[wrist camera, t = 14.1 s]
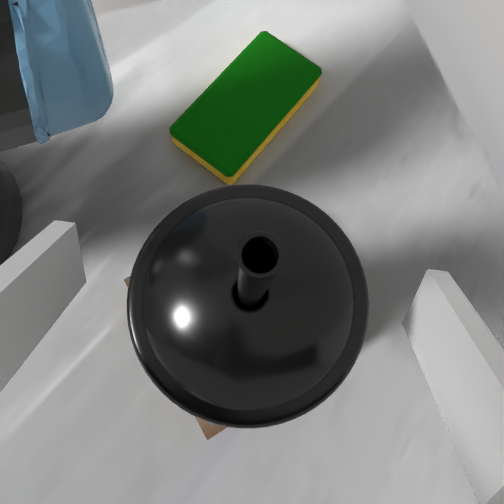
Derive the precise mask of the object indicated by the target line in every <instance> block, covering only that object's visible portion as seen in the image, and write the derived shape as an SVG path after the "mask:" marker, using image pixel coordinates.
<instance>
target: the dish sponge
mask: <svg viewBox="0 0 504 504" xmlns="http://www.w3.org/2000/svg"><path fill="white" fill-rule="evenodd" d="M321 74H322V71H321V68H320V67H318V66H317V65H316V64H314V63H313V62H311V61H310V60H308V59H307V58H305V57H304V56H302V55H301V54H299V53H298V52H296V51H295V50H293V49H292V48H290V47H289V46H287V45H286V44H285V43H283V42H282V41H280V40H279V39H277V38H276V37H274V36H273V35H271V34H270V33H268V32H267V31H263V32H260V34H259V35H258V36H257V37H256V38H255V39H254V40H253V41H252V42H251V43H250V44H249V45H248V46H247V47H246V48H245V49H244V50H243V51H242V52H241V53H240V54H239V56H238V57H237V58H236V59H235V60H234V61H233V62H232V63H231V64H230V65H229V66H228V67H227V68H226V69H225V70H224V71H223V72H222V73H221V74H220V75H219V76H218V78H217V79H216V80H215V81H214V82H213V83H212V84H211V85H210V86H209V87H208V88H207V89H206V90H205V91H204V92H203V93H202V94H201V95H200V96H199V97H198V98H197V100H196V101H195V102H194V103H193V104H192V105H191V106H190V107H189V108H188V109H187V110H186V111H185V112H184V113H183V114H182V115H181V116H180V117H179V118H178V119H177V120H176V122H175V123H174V124H173V125H172V126H171V127H170V134H171V137H172V140H173V143H174V144H175V145H176V146H177V147H179V148H180V149H181V150H183V151H184V152H185V153H187V154H188V155H189V156H191V157H192V158H193V159H195V160H196V161H197V162H199V163H200V164H201V165H203V166H204V167H205V168H207V169H208V170H209V171H211V172H212V173H213V174H215V175H216V176H217V177H218V178H220V179H221V180H222V181H224V182H225V183H226V184H228V185H229V184H234V183H235V181H236V180H237V179H238V178H239V177H240V176H241V174H242V173H243V172H244V171H245V170H246V169H247V168H248V166H249V165H250V164H251V163H252V162H253V161H254V159H255V158H256V157H257V156H258V155H259V154H260V152H261V151H262V150H263V149H264V148H265V147H266V146H267V144H268V143H269V142H270V141H271V140H272V139H273V137H274V136H275V135H276V134H277V133H278V132H279V131H280V129H281V128H282V127H283V126H284V125H285V124H286V122H287V121H288V120H289V119H290V118H291V117H292V116H293V114H294V113H295V112H296V111H297V110H298V109H299V107H300V106H301V105H302V104H303V103H304V102H305V100H306V99H307V98H308V97H309V96H310V95H311V94H312V92H313V91H314V90H315V89H316V88H317V87H318V83H319V80H320V76H321Z"/></svg>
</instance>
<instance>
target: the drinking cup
mask: <svg viewBox="0 0 504 504" xmlns="http://www.w3.org/2000/svg"><path fill="white" fill-rule="evenodd" d="M368 312H369V301H368V290H367V284H366V279H365V275H364V271H363V268H362V265H361V263H360V260H359V258H358V256H357V253H356V251H355V249H354V247H353V246H352V244H351V242H350V241H349V239H348V238H347V236H346V235H345V234H344V232H343V231H342V230H341V228H340V227H339V226H338V225H337V224H336V223H335V222H334V221H333V220H332V219H331V218H330V217H329V216H328V215H327V214H326V213H325V212H323V211H322V210H321V209H319V208H318V207H317V206H315V205H314V204H312V203H311V202H309V201H307V200H305V199H303V198H302V197H300V196H297V195H295V194H293V193H290V192H288V191H284V190H281V189H278V188H273V187H268V186H261V185H234V186H227V187H222V188H218V189H214V190H211V191H208V192H205V193H202V194H200V195H198V196H196V197H194V198H192V199H190V200H188V201H187V202H185V203H183V204H182V205H180V206H179V207H177V208H176V209H175V210H173V211H172V212H171V213H170V214H169V215H167V216H166V217H165V218H164V219H163V220H162V221H161V222H160V223H159V224H158V225H157V226H156V228H155V229H154V230H153V232H152V233H151V234H150V235H149V237H148V238H147V240H146V242H145V243H144V245H143V246H142V248H141V250H140V252H139V254H138V256H137V259H136V261H135V264H134V266H133V269H132V273H131V276H130V281H129V286H128V293H127V319H128V327H129V332H130V337H131V340H132V343H133V346H134V350H135V352H136V354H137V357H138V359H139V361H140V363H141V365H142V366H143V368H144V370H145V372H146V373H147V375H148V376H149V378H150V379H151V380H152V382H153V383H154V384H155V385H156V386H157V388H158V389H159V390H160V391H161V392H162V393H163V394H164V395H165V396H166V397H167V398H168V399H169V400H171V401H172V402H173V403H175V404H176V405H177V406H179V407H180V408H181V409H183V410H185V411H186V412H188V413H190V414H192V415H193V416H196V417H198V418H200V419H202V420H205V421H208V422H211V423H214V424H217V425H222V426H226V427H233V428H262V427H269V426H274V425H278V424H282V423H285V422H288V421H291V420H293V419H295V418H298V417H300V416H302V415H304V414H306V413H307V412H309V411H311V410H313V409H314V408H316V407H317V406H318V405H320V404H321V403H322V402H324V401H325V400H326V399H327V398H328V397H329V396H330V395H331V394H333V392H335V390H336V389H337V388H338V387H339V386H340V385H341V384H342V382H343V381H344V380H345V378H346V377H347V375H348V374H349V372H350V371H351V369H352V367H353V366H354V364H355V362H356V360H357V358H358V355H359V353H360V351H361V348H362V345H363V342H364V339H365V334H366V330H367V323H368Z"/></svg>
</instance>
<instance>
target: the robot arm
mask: <svg viewBox="0 0 504 504" xmlns="http://www.w3.org/2000/svg"><path fill="white" fill-rule="evenodd" d="M112 99H113V82H112V77H111V73H110V68H109V64H108V60H107V56H106V52H105V49H104V45H103V41H102V37H101V34H100V30H99V26H98V23H97V19H96V15H95V12H94V8H93V5H92V1H91V0H0V151H4V150H7V149H11V148H15V147H18V146H22V145H26V144H29V143H33V142H38V143H40V144H42V143H45V142H47V141H48V140H49V139H50V137H51V136H53V135H56V134H59V133H62V132H65V131H68V130H71V129H74V128H77V127H80V126H83V125H86V124H89V123H92V122H95V121H97V120H98V119H100V118H101V117H103V116H104V115H105V113H106V112H107V110H108V109H109V107H110V105H111V103H112ZM21 216H22V208H21V199H20V194H19V190H18V187H17V185H16V183H15V180H14V179H13V177H12V175H11V174H10V172H9V171H8V169H7V168H6V167H5V166H4V165H3V164H2V163H1V162H0V392H1V391H2V389H3V388H4V387H5V386H6V384H7V383H8V382H9V380H10V379H11V378H12V377H13V375H14V374H15V373H16V371H17V370H18V369H19V368H20V366H21V365H22V364H23V362H24V361H25V360H26V359H27V357H28V356H29V355H30V353H31V352H32V351H33V350H34V348H35V347H36V346H37V344H38V343H39V342H40V341H41V339H42V338H43V337H44V336H45V334H46V333H47V332H48V330H49V329H50V328H51V327H52V325H53V324H54V323H55V321H56V320H57V319H58V318H59V316H60V315H61V314H62V312H63V311H64V310H65V309H66V307H67V306H68V305H69V303H70V302H71V301H72V300H73V298H74V297H75V296H76V294H77V293H78V292H79V291H80V289H81V288H82V287H83V285H84V284H85V283H86V278H85V273H84V267H83V262H82V256H81V250H80V245H79V239H78V233H77V228H76V223H73V222H66V221H58V220H54V221H53V222H52V223H51V224H50V225H48V226H47V227H46V228H45V229H44V230H42V231H41V232H40V233H39V234H38V235H36V236H35V237H34V238H33V239H32V240H30V241H29V242H28V243H27V244H26V245H24V246H23V247H22V248H21V249H20V250H18V251H17V252H16V253H15V254H14V255H12V256H11V257H10V258H9V259H7V258H8V256H9V255H10V253H11V251H12V249H13V247H14V244H15V242H16V239H17V237H18V233H19V229H20V224H21ZM402 324H403V326H404V329H405V331H406V333H407V336H408V338H409V340H410V343H411V345H412V347H413V350H414V352H415V355H416V357H417V359H418V362H419V364H420V366H421V369H422V371H423V373H424V376H425V378H426V380H427V383H428V385H429V387H430V390H431V392H432V395H433V397H434V399H435V402H436V404H437V406H438V409H439V411H440V413H441V416H442V418H443V420H444V423H445V425H446V428H447V430H448V432H449V435H450V437H451V439H452V442H453V444H454V446H455V449H456V451H457V453H458V456H459V458H460V460H461V463H462V465H463V468H464V470H465V472H466V475H467V477H468V479H469V482H470V484H471V486H472V489H473V491H474V493H475V496H476V498H477V501H478V503H479V504H504V350H503V348H502V347H501V345H500V344H499V343H498V341H497V340H496V338H495V337H494V336H493V334H492V333H491V331H490V330H489V329H488V327H487V326H486V324H485V323H484V322H483V320H482V319H481V317H480V316H479V314H478V313H477V312H476V310H475V309H474V307H473V306H472V305H471V303H470V302H469V300H468V299H467V298H466V296H465V295H464V293H463V292H462V291H461V289H460V288H459V286H458V285H457V283H456V282H455V281H454V279H453V278H452V276H451V275H450V274H449V272H448V271H440V270H432V269H427V271H426V273H425V275H424V278H423V280H422V282H421V284H420V286H419V288H418V290H417V293H416V295H415V297H414V299H413V301H412V303H411V306H410V308H409V310H408V312H407V314H406V316H405V318H404V321H403V323H402Z"/></svg>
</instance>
